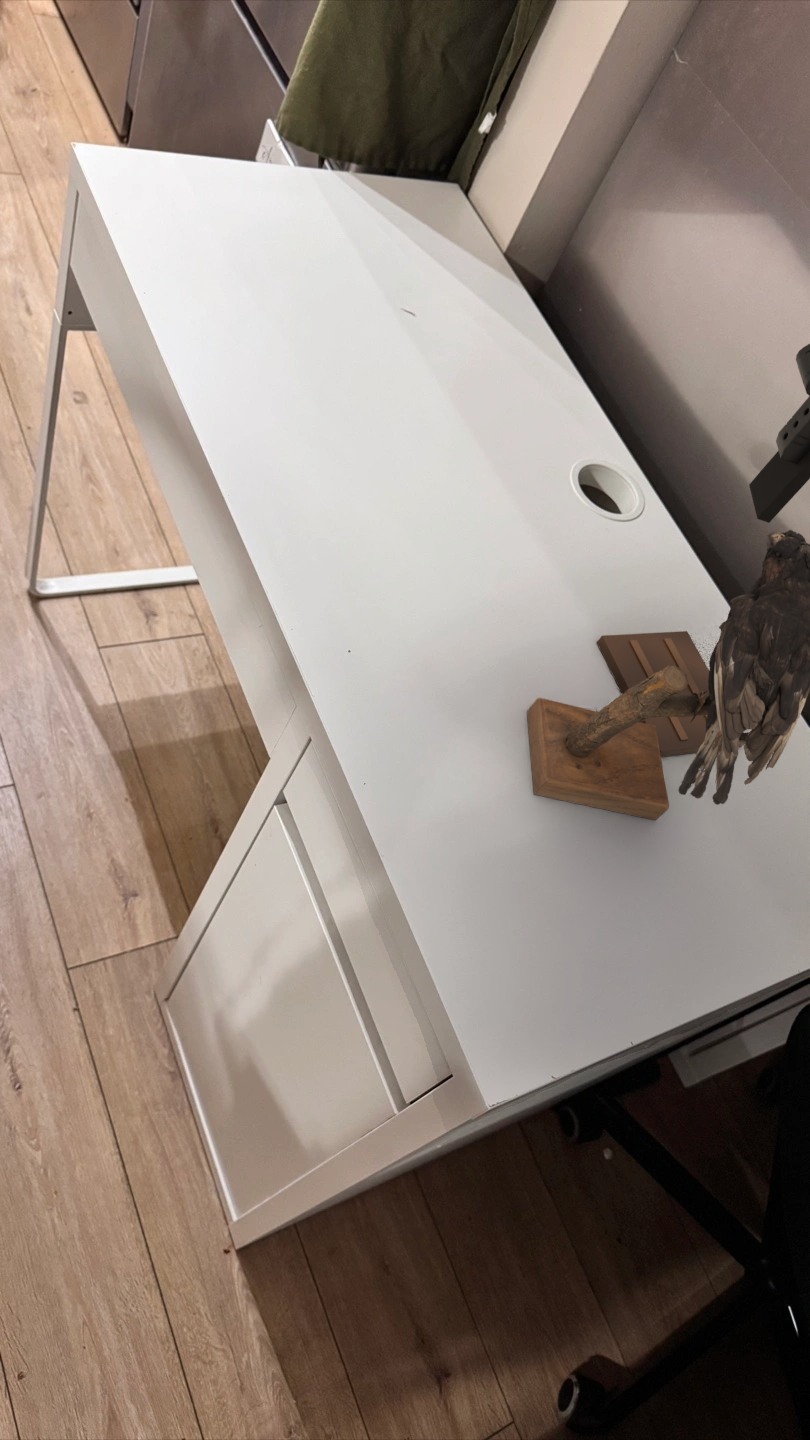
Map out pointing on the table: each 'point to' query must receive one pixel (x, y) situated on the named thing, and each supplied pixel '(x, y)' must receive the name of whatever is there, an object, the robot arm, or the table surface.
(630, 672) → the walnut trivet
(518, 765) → the table surface
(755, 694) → the bird figurine
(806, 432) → the robot arm
